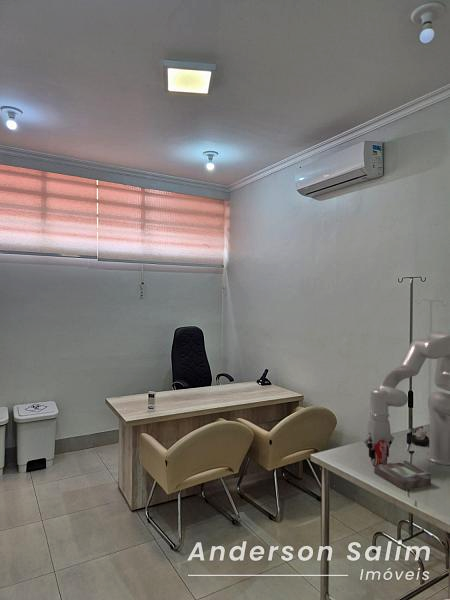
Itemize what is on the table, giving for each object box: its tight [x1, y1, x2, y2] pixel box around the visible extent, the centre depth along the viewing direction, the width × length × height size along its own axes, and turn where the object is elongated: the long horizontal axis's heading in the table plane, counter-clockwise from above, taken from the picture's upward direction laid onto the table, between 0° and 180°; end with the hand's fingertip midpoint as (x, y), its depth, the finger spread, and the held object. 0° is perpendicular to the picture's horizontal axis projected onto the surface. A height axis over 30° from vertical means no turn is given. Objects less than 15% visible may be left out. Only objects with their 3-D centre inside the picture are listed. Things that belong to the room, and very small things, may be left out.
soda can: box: [370, 439, 388, 466], centre depth 176 cm, size 7×7×12 cm
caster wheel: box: [410, 425, 430, 447], centre depth 206 cm, size 7×11×10 cm
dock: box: [373, 460, 432, 491], centre depth 161 cm, size 14×16×5 cm
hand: (378, 456), depth 176 cm, fingers closed on soda can, 7 cm apart
